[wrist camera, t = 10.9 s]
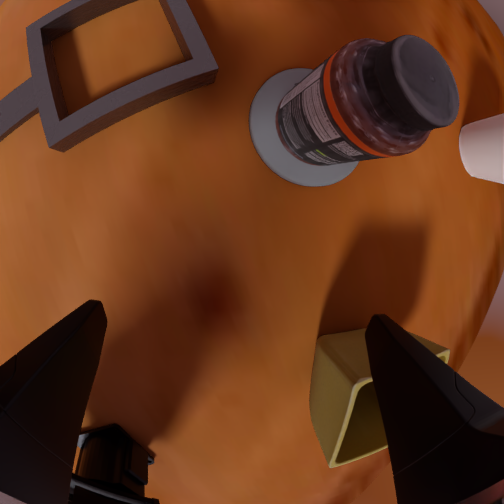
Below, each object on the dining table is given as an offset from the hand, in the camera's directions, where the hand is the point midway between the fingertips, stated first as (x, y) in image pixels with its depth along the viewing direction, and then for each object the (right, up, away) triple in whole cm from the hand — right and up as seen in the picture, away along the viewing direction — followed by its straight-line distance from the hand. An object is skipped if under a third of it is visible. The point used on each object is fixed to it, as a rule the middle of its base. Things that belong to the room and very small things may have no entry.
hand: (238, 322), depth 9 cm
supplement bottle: (+5, +11, +10) cm, 15 cm away
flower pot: (+8, -7, +15) cm, 19 cm away
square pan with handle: (-13, +15, +5) cm, 20 cm away
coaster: (+5, +11, +10) cm, 16 cm away
